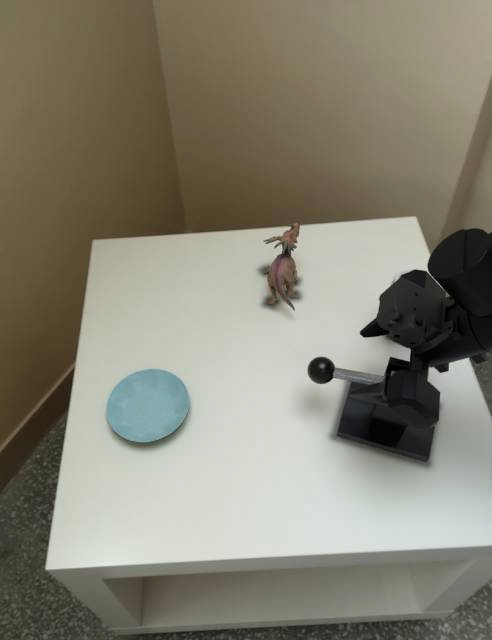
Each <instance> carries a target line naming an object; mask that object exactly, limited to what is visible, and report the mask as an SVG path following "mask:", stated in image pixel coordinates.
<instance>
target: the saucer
mask: <svg viewBox="0 0 492 640" xmlns="http://www.w3.org/2000/svg"><path fill="white" fill-rule="evenodd" d="M189 407H190V394H189V391H188V388H187V386H186V384H185V383H184V381H183V380H182V379H181V378H180V377H179V376H178V375H176V374H174V373H172V372H170V371H168V370H165V369H161V368H146V369H145V368H144V369H141V370H137V371H134V372H132V373H130V374H128V375H127V376H124V377H123V378H122V379H121V380H120V381H119V382H118V383H116V385H115V386H114V388H113V389H112V390H111V392H110V393H109V396H108V398H107V402H106V405H105V414H106V419H107V422H108V424H109V426H110V428H111V429H112V430H113V432H115V433H116V434H117V435H118V436H119V437H121V438H123V439H125V440H127V441H130V442H131V441H132V442H135V443H150V442H154V441H157V440H161V439H163V438H165V437H167V436H169V435H170V434H172V433H173V432H175V431H176V430H177V429H178V428H179V427H180V426H181V424H182V423H183V422H184V420H185V419H186V417H187V415H188V411H189V409H190V408H189Z"/></svg>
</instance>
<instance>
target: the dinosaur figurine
mask: <svg viewBox="0 0 492 640" xmlns="http://www.w3.org/2000/svg"><path fill="white" fill-rule="evenodd" d="M287 227H290V228H289V229H287V230H285V231H284V232H283V233H282V235H278V236H276V235H275V236H272V237H269V238H267V239H264V240H263V241H262V242H263V243H265V245H268V244H272V243H274V242H277V241H278V242H277V243H276V244H275V245H274V247H273V248H274V249H277V248H279V246H281V249H282V250H281V253H279V254H277V255H276V257H275V258H274V260H273V261H272V262H271V264H270V267H265V268H264V269H263V273H265V274H267V273H268V275H267V283H268V288H269V293H270V294H271V298H266V302H265V305H266V304H267V305H274V304H276V302H277V301H278V297H279V298H280V299H281V300H282V302H284V303H286V305H288V306H289V307H290V308H291V309H292V310H293V311H294V312H295V311H296V308H295V306H294V304H293V302H292V301H291V300H290V298H300V297H299V296H300V295H299V294H298V292H297V291H294V287H295V284H297V283H298V270H297V269H296V268H297V265H296V262H295V259H294V258H293V256H292V252H295V251H294V250H296V249H297V248H298V245H297V244H298V237H299V235H300V230H301V224H300V222H295V223H289V224H288V225H287ZM284 287H285V289H286V292H285V290H284ZM288 297H290V298H288Z"/></svg>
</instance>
